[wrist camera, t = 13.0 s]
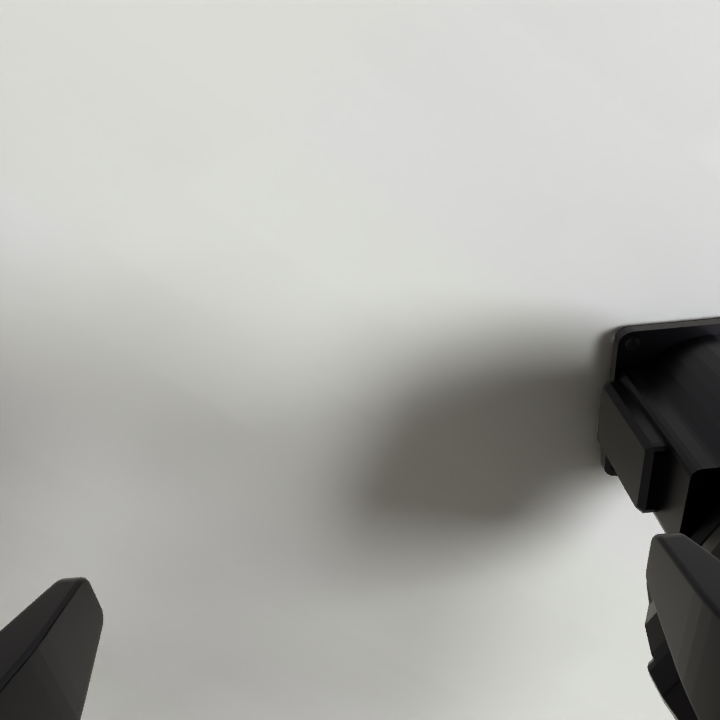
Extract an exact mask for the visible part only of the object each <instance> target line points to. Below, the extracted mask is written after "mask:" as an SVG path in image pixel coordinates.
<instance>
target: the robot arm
mask: <svg viewBox="0 0 720 720" xmlns="http://www.w3.org/2000/svg"><path fill="white" fill-rule="evenodd" d="M630 338H635V340H634V342H633V343H632V344H630V345H625V343H626V341H627V340H628V339H630ZM597 439H598V442H599V444H600V445H601V447H602V454H601V465H602V466H603V468H604V470H605V472H606V473H607V474H609V475H612V476H618V477H619V479H620V481H621V483H622V484H623V486H624V488H625V490H626V491H627V493H628V495H629V497H630V498H631V500H632V502H633V504H634V506H635V507H636V508H637V509H638V510H640V511H641V512H642V513H649V512H653V513H654V515H655V516H656V518H657V520H658V521H659V523H660V525H661V527H662V528H663V530H664V532H665V533H666V534H657V535H655V536H654V537H653V538H652V541H651V546H650V551H649V557H648V563H647V569H646V579H647V591H648V599H649V607H648V612H647V617H646V622H645V628H646V632H647V637H648V641H649V646H650V650H651V654H652V656H653V659H652V660H651V661H650V662H649V663H648V666H647V667H648V671H649V674H650V677H651V679H652V681H653V683H654V685H655V686H656V688H657V690H658V692H659V694H660V696H661V698H662V700H663V701H664V703H665V705H666V706H667V708H668V709H669V710H670V712H671V713H672V715H673V716H674V718H675V719H676V720H720V318H717V319H706V320H695V321H684V322H673V323H662V324H651V325H640V326H629V327H626V328H623V329H622V330H620V331H619V332H618V333H617V334H616V335H615V338H614V344H613V353H612V363H611V372H610V381H609V382H607V383H606V384H605V385H604V387H603V388H602V398H601V407H600V417H599V427H598V436H597ZM102 626H103V612H102V608H101V606H100V604H99V602H98V600H97V598H96V595H95V593H94V591H93V589H92V587H91V584H90V582H89V581H88V580H87V579H86V578H83V577H78V578H65V579H61V580H59V581H57V582H56V583H54V584H53V585H52V586H51V587H50V588H49V589H47V590H46V591H45V592H44V593H43V594H42V595H41V596H39V597H38V598H37V599H36V600H35V601H34V602H33V603H32V604H30V605H29V606H28V607H27V608H26V609H25V610H24V611H22V612H21V613H20V614H19V615H18V616H17V617H16V618H15V619H13V620H12V621H11V622H10V623H9V624H8V625H7V626H5V627H4V628H3V629H2V630H1V631H0V720H80V719H81V715H82V711H83V707H84V703H85V699H86V695H87V691H88V686H89V682H90V678H91V673H92V669H93V665H94V661H95V656H96V652H97V648H98V644H99V639H100V635H101V631H102Z"/></svg>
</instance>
